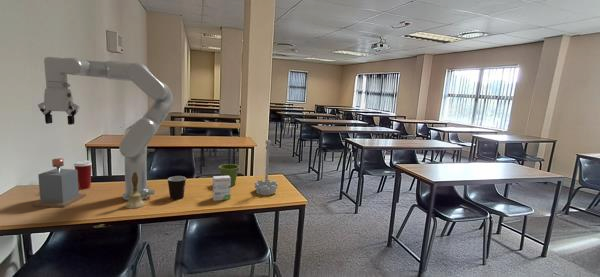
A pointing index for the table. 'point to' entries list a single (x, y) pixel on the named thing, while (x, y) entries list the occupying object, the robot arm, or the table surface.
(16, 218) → the table surface
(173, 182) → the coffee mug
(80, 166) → the paper cup
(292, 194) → the table surface
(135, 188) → the hand bell
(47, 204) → the block
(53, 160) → the plunger
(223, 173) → the plant pot
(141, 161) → the robot arm
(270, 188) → the flag stand
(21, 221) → the table surface
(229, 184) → the ink box
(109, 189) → the table surface
